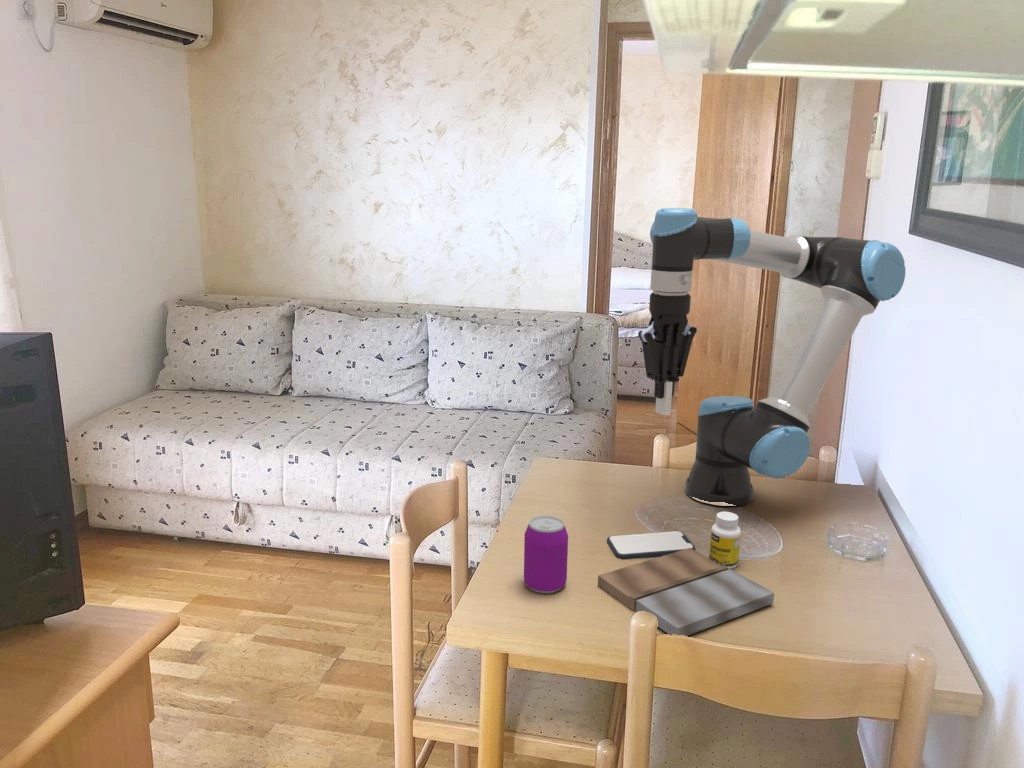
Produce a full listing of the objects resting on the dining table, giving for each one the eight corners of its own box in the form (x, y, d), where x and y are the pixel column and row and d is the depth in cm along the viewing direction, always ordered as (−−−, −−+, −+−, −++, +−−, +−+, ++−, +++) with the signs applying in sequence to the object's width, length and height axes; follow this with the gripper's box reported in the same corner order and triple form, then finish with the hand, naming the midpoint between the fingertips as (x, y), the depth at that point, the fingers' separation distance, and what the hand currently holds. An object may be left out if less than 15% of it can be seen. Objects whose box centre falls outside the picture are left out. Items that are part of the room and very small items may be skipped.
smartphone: (617, 563, 153) (697, 556, 155) (617, 555, 152) (697, 549, 155) (605, 542, 161) (681, 537, 164) (605, 535, 161) (681, 529, 163)
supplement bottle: (703, 563, 152) (707, 515, 149) (717, 554, 156) (721, 507, 153) (729, 573, 148) (733, 524, 146) (743, 563, 152) (747, 515, 150)
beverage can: (532, 571, 148) (534, 511, 145) (572, 579, 145) (574, 518, 142) (517, 590, 141) (518, 527, 138) (558, 599, 138) (560, 535, 135)
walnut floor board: (689, 557, 154) (689, 546, 154) (727, 579, 146) (728, 567, 145) (597, 585, 143) (598, 573, 142) (633, 611, 135) (634, 598, 134)
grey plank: (729, 579, 145) (730, 569, 145) (773, 603, 137) (774, 592, 137) (635, 611, 134) (636, 600, 134) (676, 639, 126) (677, 628, 125)
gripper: (657, 297, 143) (650, 423, 149) (710, 292, 150) (701, 413, 156) (630, 292, 149) (624, 413, 155) (682, 287, 156) (674, 404, 162)
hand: (662, 413), depth 156 cm, fingers closed
